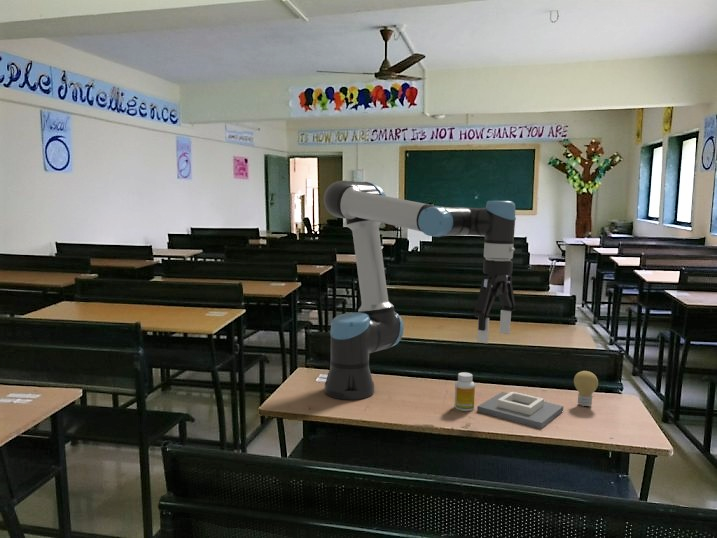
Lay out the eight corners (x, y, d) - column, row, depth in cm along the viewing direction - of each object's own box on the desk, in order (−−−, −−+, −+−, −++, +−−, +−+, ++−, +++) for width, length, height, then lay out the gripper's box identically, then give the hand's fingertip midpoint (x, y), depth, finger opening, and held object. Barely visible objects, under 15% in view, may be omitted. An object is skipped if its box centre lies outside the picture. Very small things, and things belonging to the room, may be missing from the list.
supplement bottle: (477, 411, 148) (478, 376, 148) (458, 412, 148) (459, 377, 147) (469, 404, 154) (471, 371, 153) (451, 405, 153) (452, 371, 152)
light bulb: (599, 410, 151) (602, 375, 150) (576, 408, 151) (578, 374, 150) (592, 402, 157) (594, 368, 156) (569, 401, 158) (571, 367, 157)
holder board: (477, 411, 148) (477, 399, 148) (502, 396, 160) (502, 385, 160) (541, 428, 137) (542, 415, 136) (563, 411, 149) (563, 399, 149)
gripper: (490, 263, 130) (486, 348, 133) (530, 257, 150) (525, 332, 152) (462, 261, 135) (459, 343, 137) (504, 255, 154) (500, 328, 157)
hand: (494, 337), depth 145 cm, fingers open, 13 cm apart
